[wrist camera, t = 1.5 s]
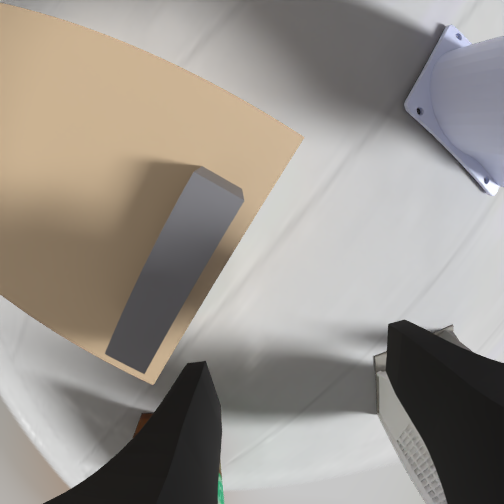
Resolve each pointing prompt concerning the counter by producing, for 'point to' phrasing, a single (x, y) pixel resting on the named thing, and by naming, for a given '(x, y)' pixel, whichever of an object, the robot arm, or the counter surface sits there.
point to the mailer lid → (121, 186)
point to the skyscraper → (409, 431)
